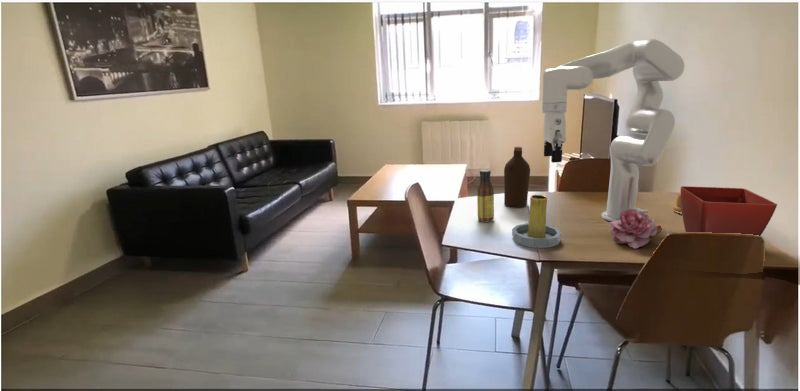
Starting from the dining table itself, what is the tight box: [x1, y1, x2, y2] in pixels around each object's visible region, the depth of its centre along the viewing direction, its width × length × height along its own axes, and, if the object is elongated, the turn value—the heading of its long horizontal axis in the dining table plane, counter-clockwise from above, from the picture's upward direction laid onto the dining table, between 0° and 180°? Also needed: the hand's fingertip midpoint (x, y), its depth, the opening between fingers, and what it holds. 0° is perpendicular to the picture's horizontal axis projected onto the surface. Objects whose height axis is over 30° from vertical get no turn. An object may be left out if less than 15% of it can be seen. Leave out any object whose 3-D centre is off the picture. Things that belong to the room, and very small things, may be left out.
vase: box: [527, 194, 548, 238], centre depth 147 cm, size 6×6×14 cm
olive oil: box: [503, 146, 531, 209], centre depth 184 cm, size 11×11×25 cm
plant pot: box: [680, 185, 778, 237], centre depth 138 cm, size 19×19×17 cm
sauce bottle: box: [476, 168, 495, 223], centre depth 167 cm, size 7×6×20 cm
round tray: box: [511, 222, 562, 249], centre depth 149 cm, size 15×15×3 cm
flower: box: [608, 209, 663, 249], centre depth 144 cm, size 15×15×10 cm
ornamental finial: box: [672, 193, 682, 212], centre depth 170 cm, size 8×8×8 cm
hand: (552, 159), depth 147 cm, fingers open, 9 cm apart
